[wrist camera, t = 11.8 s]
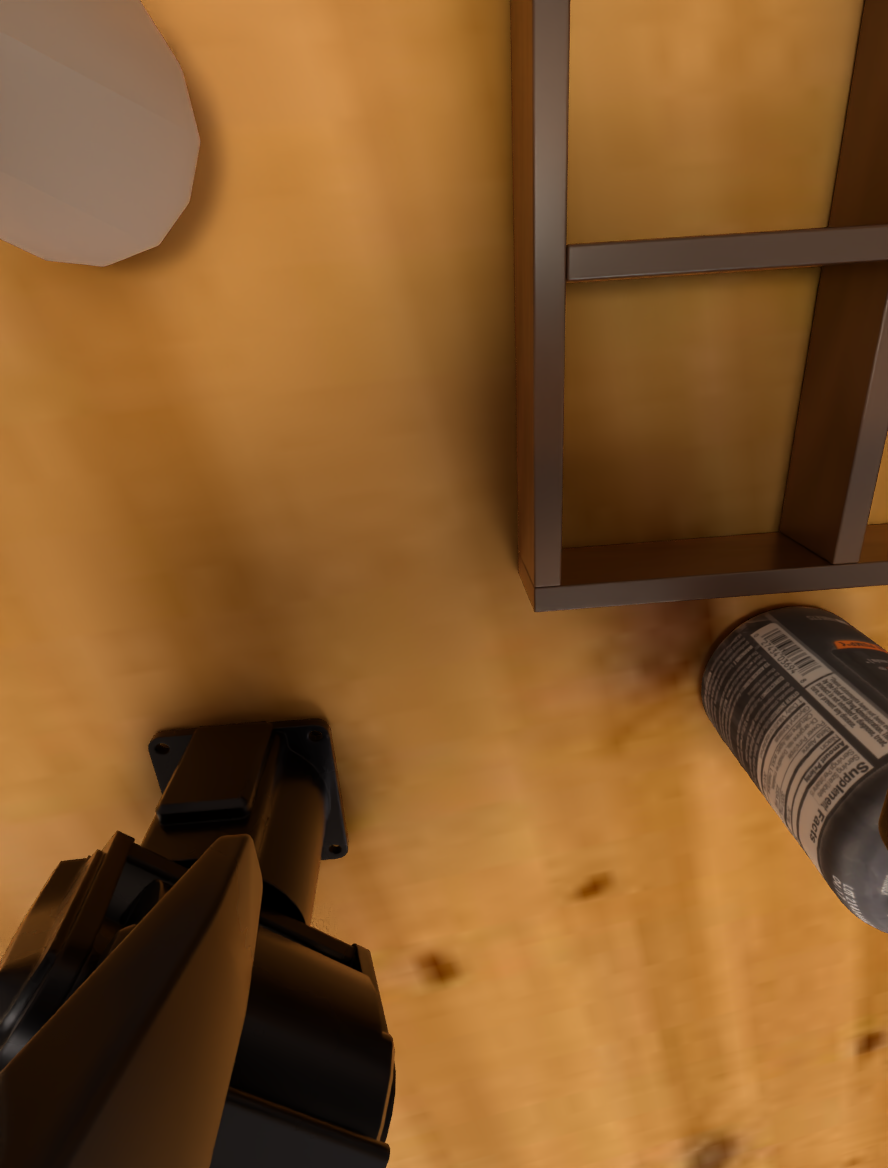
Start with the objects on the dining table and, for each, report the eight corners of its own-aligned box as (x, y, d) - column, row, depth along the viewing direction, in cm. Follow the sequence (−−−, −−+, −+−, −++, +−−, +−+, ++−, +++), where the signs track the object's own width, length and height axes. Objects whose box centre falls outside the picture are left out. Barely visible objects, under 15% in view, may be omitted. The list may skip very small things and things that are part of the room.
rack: (1049, 532, 22) (1140, 565, 19) (518, 573, 22) (534, 613, 19) (1312, -232, 14) (1524, -357, 12) (507, -194, 14) (531, -313, 11)
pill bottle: (886, 664, 24) (1252, 943, 13) (759, 763, 25) (999, 1079, 15) (793, 568, 22) (1135, 805, 12) (663, 681, 24) (861, 977, 13)
